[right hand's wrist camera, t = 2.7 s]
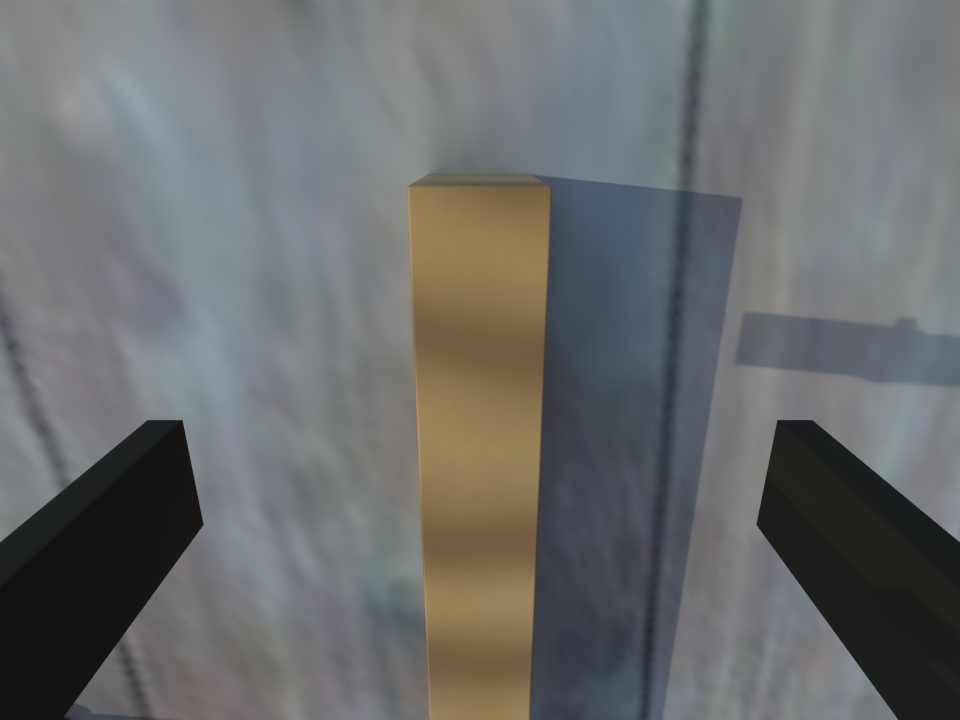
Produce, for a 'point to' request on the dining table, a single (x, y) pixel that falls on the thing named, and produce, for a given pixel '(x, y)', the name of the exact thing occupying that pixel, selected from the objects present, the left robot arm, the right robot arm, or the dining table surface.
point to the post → (479, 431)
